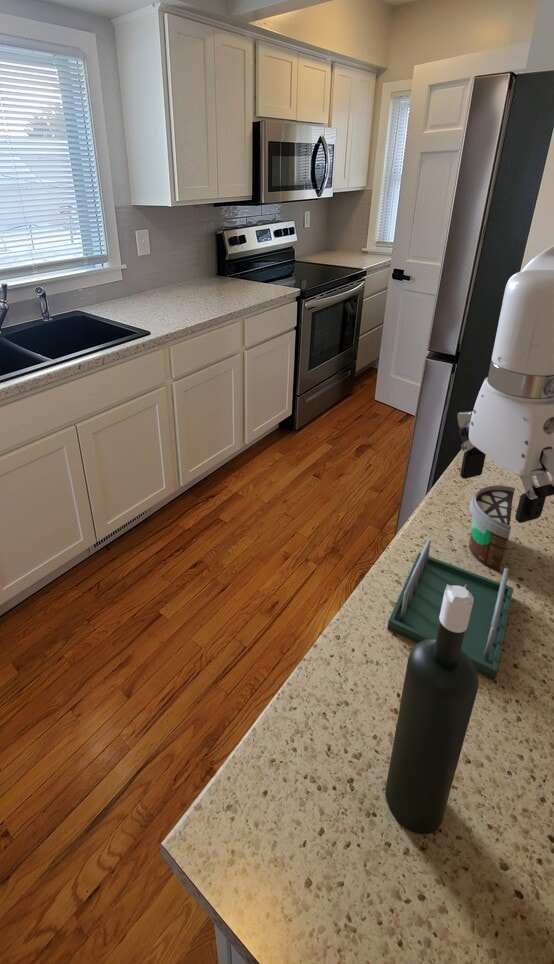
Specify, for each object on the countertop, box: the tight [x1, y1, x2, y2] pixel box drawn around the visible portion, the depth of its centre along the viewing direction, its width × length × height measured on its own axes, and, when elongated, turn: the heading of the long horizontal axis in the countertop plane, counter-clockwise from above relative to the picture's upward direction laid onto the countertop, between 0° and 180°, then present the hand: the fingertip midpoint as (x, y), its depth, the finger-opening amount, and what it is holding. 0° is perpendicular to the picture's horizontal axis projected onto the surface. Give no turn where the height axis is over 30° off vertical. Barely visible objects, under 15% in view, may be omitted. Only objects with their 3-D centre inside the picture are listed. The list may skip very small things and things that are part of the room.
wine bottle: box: [384, 584, 480, 835], centre depth 45 cm, size 6×6×30 cm
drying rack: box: [386, 539, 514, 681], centre depth 71 cm, size 14×16×7 cm
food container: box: [468, 484, 516, 572], centre depth 82 cm, size 12×6×10 cm, turn 149°
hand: (496, 496), depth 64 cm, fingers open, 9 cm apart
